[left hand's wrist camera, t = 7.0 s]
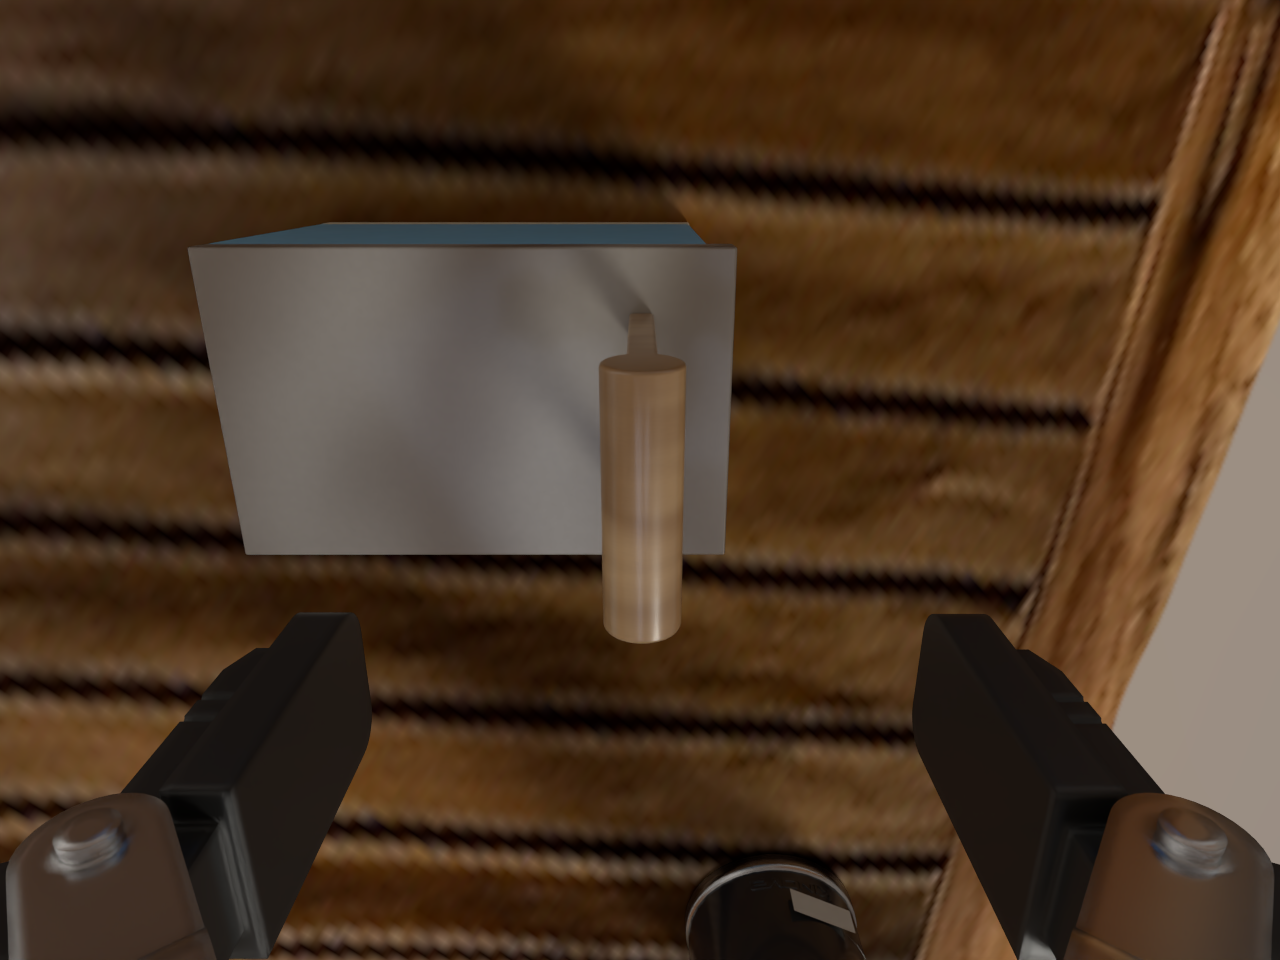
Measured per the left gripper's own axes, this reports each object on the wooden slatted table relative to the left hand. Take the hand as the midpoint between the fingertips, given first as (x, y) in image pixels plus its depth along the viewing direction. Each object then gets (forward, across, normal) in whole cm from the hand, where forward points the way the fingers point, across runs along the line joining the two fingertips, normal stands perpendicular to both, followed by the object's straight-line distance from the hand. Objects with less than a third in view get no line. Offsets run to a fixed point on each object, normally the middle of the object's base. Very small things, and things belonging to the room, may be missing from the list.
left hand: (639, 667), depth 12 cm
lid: (+14, +5, 0) cm, 15 cm away
